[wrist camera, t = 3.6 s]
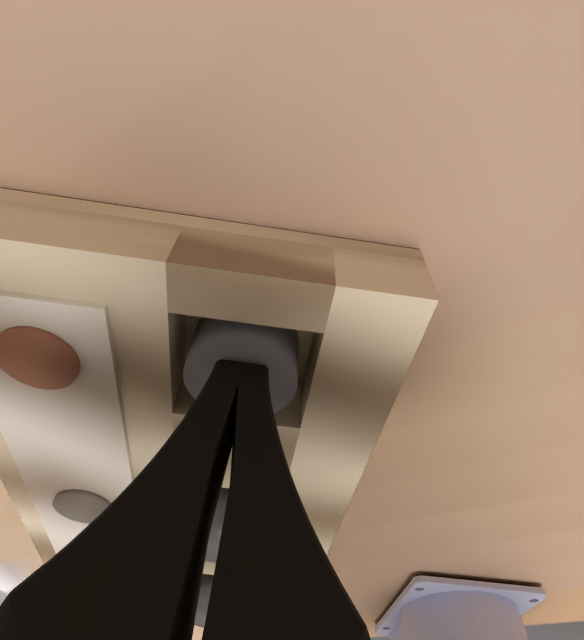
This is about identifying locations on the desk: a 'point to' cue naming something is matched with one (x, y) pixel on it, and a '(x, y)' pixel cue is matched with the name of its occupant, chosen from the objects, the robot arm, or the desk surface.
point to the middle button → (217, 527)
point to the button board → (184, 348)
